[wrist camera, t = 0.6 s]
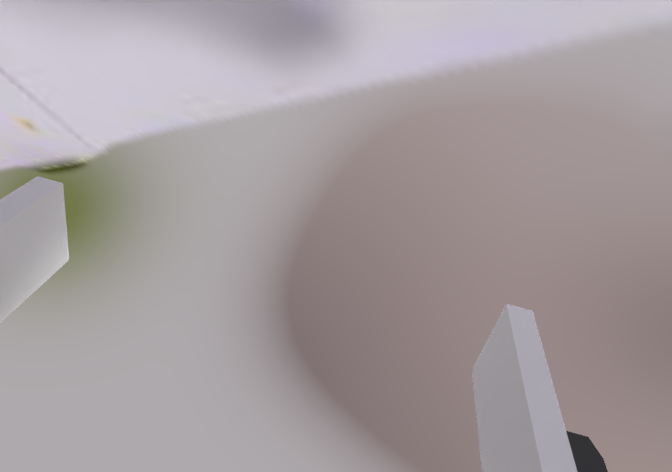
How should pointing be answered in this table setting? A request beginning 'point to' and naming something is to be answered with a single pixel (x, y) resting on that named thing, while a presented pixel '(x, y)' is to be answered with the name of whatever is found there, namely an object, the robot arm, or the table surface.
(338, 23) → the table surface
